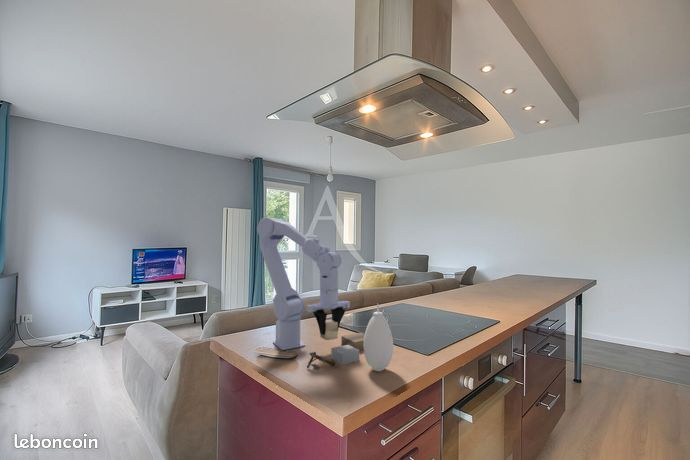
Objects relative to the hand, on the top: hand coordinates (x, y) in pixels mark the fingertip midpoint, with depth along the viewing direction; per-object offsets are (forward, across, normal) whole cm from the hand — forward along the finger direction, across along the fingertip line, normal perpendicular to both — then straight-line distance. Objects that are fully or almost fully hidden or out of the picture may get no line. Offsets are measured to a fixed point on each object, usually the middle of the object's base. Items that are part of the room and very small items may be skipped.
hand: (328, 332), depth 99 cm
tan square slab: (+6, +11, 0) cm, 13 cm away
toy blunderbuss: (+6, -8, -10) cm, 14 cm away
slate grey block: (+6, +1, -8) cm, 10 cm away
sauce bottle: (+6, +4, -20) cm, 21 cm away
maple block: (+2, 0, 0) cm, 2 cm away
